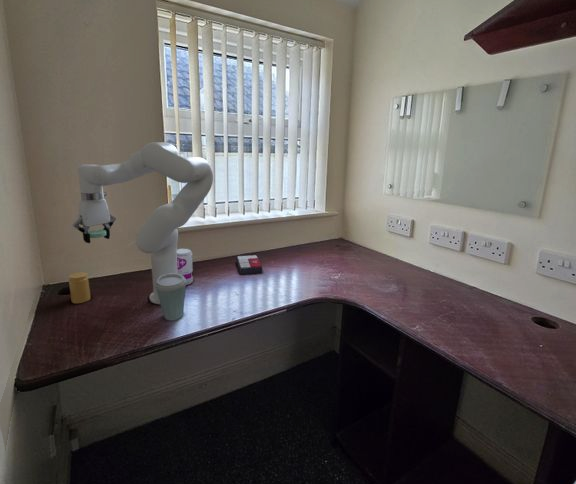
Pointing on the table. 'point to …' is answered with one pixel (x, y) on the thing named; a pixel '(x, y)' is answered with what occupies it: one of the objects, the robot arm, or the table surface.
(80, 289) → the jam jar
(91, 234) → the lid
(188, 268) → the supplement can
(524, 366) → the table surface
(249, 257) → the black product box
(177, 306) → the disposable coffee cup
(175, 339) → the table surface
